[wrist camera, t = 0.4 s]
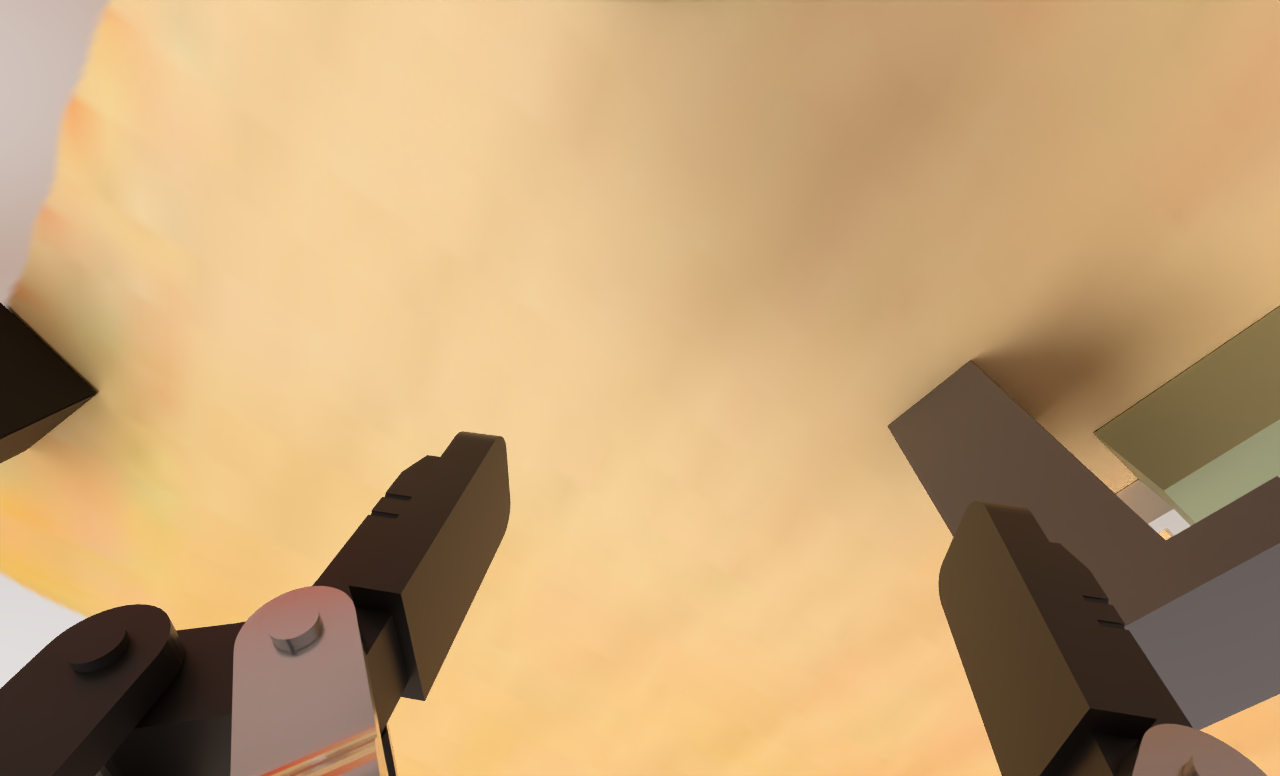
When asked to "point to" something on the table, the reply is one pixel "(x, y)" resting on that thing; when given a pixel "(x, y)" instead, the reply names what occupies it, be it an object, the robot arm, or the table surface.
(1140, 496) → the green block with cylinder
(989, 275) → the table surface
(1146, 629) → the dark grey angled block
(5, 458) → the black upright block
